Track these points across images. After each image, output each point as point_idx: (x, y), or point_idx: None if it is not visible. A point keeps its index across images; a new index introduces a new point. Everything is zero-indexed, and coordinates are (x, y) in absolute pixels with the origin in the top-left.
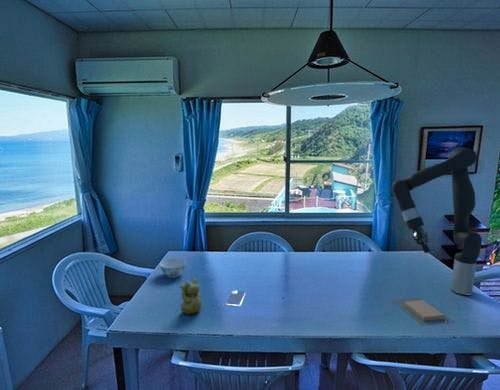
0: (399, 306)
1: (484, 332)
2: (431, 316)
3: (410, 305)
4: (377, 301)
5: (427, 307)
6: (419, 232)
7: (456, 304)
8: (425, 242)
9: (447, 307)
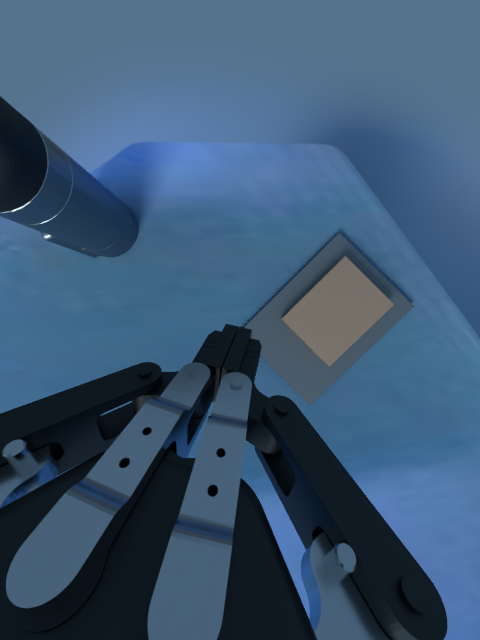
0: (338, 373)
1: (337, 167)
2: (375, 286)
3: (343, 346)
4: (332, 433)
5: (324, 301)
6: (234, 621)
7: (211, 236)
8: (224, 386)
9: (247, 257)
